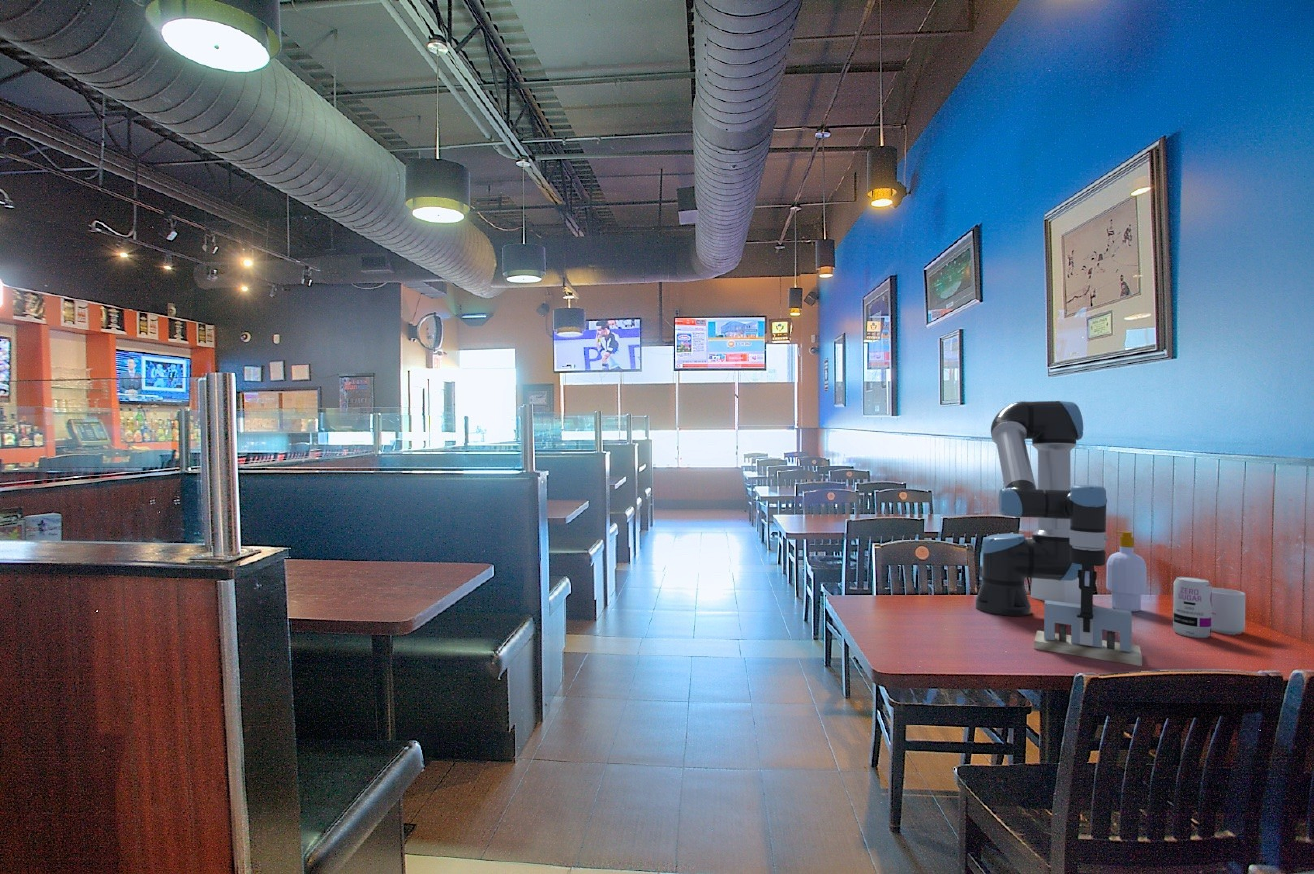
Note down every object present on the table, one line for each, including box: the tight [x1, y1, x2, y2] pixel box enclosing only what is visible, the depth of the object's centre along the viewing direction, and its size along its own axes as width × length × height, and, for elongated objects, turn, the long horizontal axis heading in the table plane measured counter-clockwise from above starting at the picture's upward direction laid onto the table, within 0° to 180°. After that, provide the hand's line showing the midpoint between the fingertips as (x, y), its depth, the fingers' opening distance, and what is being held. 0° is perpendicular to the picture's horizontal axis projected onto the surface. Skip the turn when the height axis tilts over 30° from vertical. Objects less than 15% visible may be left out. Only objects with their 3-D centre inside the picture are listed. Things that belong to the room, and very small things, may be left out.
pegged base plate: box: [1033, 623, 1143, 667], centre depth 166 cm, size 22×11×6 cm, turn 57°
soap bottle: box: [1105, 530, 1148, 612], centre depth 209 cm, size 10×10×24 cm
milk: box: [1030, 578, 1081, 605], centre depth 220 cm, size 12×12×26 cm
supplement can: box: [1172, 576, 1213, 639], centre depth 182 cm, size 8×8×15 cm
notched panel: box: [1043, 600, 1133, 652], centre depth 165 cm, size 18×4×9 cm, turn 57°
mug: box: [1211, 587, 1246, 636], centre depth 188 cm, size 12×9×11 cm
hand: (1086, 641), depth 165 cm, fingers closed on notched panel, 4 cm apart
